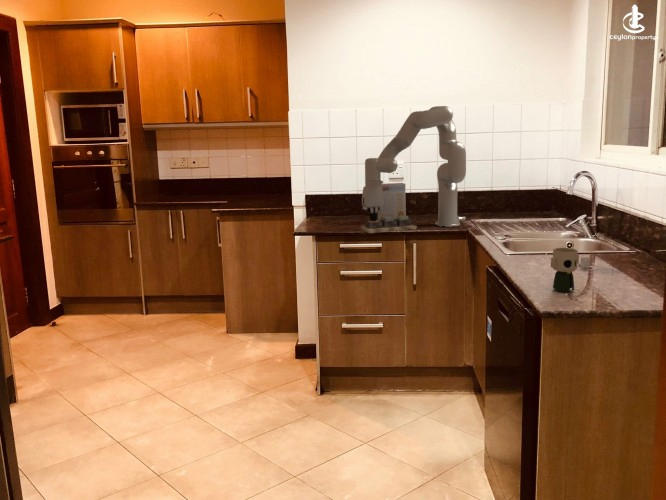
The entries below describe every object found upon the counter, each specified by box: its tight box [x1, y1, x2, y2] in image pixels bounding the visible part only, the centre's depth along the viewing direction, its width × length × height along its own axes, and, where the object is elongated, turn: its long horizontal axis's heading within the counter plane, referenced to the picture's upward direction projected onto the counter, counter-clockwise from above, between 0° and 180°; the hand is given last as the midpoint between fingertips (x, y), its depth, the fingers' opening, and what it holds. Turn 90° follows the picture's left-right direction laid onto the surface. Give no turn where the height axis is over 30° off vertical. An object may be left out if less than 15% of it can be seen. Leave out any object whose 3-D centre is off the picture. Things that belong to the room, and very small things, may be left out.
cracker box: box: [377, 182, 407, 221], centre depth 330 cm, size 14×6×21 cm, turn 105°
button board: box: [359, 218, 418, 234], centre depth 312 cm, size 26×12×4 cm, turn 110°
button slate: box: [382, 217, 394, 221], centre depth 312 cm, size 4×4×3 cm
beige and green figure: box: [550, 247, 580, 293], centre depth 193 cm, size 11×7×13 cm, turn 114°
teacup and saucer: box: [576, 256, 598, 271], centre depth 223 cm, size 9×8×4 cm
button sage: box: [397, 215, 410, 220], centre depth 314 cm, size 4×4×3 cm
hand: (373, 220), depth 309 cm, fingers closed
